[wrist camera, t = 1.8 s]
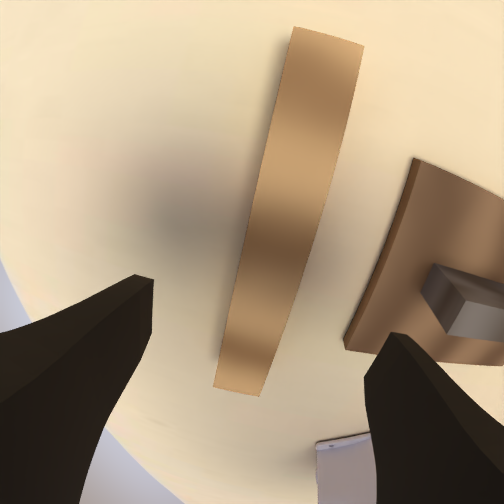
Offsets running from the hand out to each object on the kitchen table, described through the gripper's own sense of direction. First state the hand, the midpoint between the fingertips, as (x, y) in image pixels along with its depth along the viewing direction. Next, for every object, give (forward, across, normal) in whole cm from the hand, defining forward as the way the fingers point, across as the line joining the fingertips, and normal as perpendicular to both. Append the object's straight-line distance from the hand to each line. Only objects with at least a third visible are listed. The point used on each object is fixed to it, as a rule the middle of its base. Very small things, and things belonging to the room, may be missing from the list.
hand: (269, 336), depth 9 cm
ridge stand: (+8, -14, 0) cm, 16 cm away
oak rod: (+9, 0, 0) cm, 9 cm away
